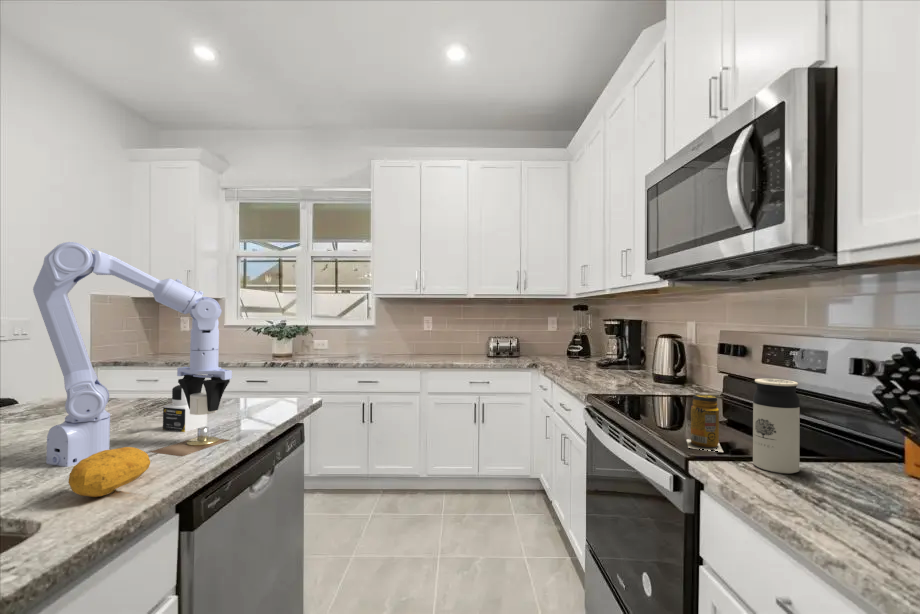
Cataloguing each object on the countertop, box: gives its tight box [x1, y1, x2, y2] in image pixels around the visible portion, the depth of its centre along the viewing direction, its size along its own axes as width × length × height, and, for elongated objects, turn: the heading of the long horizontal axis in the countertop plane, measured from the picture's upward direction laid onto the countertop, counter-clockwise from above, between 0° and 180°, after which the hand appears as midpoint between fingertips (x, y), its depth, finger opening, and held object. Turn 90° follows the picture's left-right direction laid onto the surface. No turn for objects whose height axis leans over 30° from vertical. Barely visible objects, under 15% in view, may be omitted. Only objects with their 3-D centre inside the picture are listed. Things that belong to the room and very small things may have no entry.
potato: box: [68, 446, 151, 498], centre depth 80 cm, size 8×14×7 cm, turn 172°
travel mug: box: [752, 378, 801, 475], centre depth 97 cm, size 8×8×18 cm
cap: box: [190, 391, 218, 415], centre depth 106 cm, size 5×5×4 cm
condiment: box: [686, 393, 724, 453], centre depth 112 cm, size 7×8×12 cm
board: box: [149, 436, 231, 457], centre depth 103 cm, size 13×9×1 cm
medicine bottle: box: [162, 384, 208, 433], centre depth 119 cm, size 7×7×12 cm
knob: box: [186, 426, 220, 446], centre depth 106 cm, size 6×6×3 cm
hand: (203, 409), depth 106 cm, fingers closed on cap, 5 cm apart
